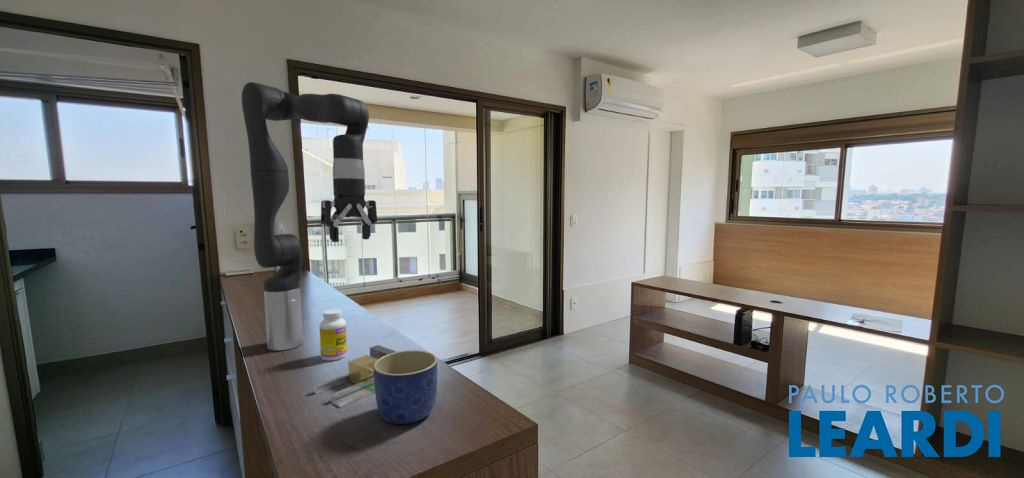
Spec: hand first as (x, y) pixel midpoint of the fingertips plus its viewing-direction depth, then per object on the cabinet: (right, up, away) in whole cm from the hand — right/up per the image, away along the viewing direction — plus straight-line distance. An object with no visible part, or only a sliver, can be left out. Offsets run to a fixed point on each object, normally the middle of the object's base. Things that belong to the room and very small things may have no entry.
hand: (350, 240), depth 103 cm
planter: (+21, -35, -22) cm, 47 cm away
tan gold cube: (+8, -34, -9) cm, 36 cm away
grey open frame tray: (+7, -34, -10) cm, 36 cm away
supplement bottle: (-7, -33, +7) cm, 34 cm away
